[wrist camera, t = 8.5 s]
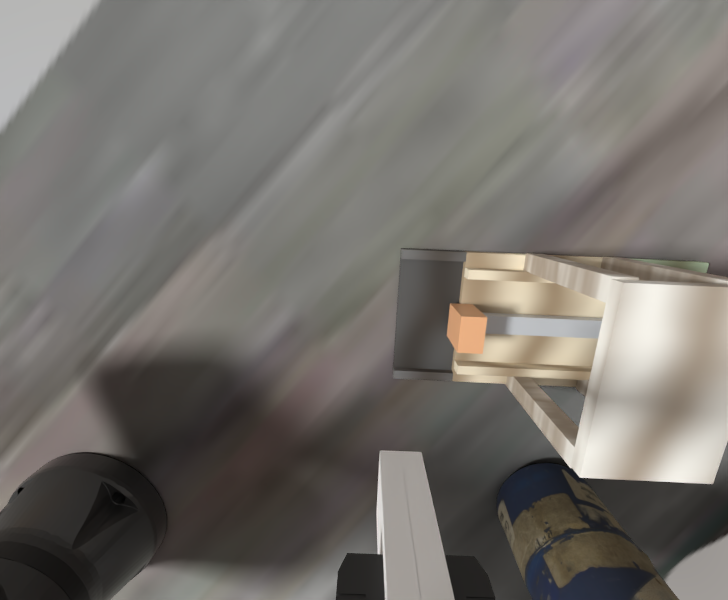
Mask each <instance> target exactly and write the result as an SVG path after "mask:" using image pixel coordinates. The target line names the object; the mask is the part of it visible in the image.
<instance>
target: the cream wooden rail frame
mask: <svg viewBox="0 0 728 600" xmlns="http://www.w3.org/2000/svg"><path fill="white" fill-rule="evenodd" d="M708 266H709V263H705V262H699V261H677V260H654V259H632V258H621V257H586V256H564V255H546V254H532V253H526V254H518V253H496V252H473V251H450V250H428V249H405V248H401V258H400V273H399V288H398V303H397V318H396V333H395V347H394V362H393V378H394V379H416V380H437V381H459V382H480V383H502V384H506V386H507V387H508V389H509V390H510V391H511V393H512V394H513V395H514V396H515V398H516V399H517V400H518V402H519V403H520V404H521V405H522V407H523V408H524V409H525V411H526V412H527V413H528V414H529V416H530V417H531V418H532V420H533V421H534V422H535V423H536V425H537V426H538V427H539V429H540V430H541V431H542V432H543V434H544V435H545V436H546V438H547V439H548V440H549V441H550V443H551V444H552V445H553V447H554V448H555V449H556V450H557V452H558V453H559V454H560V456H561V457H562V458H563V459H564V461H565V462H566V463H567V465H568V466H569V467H570V468H573V470H574V471H575V472H576V474H577V475H578V476H579V477H580V478H597V479H618V480H639V481H659V482H680V483H701V484H713V483H714V480H715V477H716V474H717V471H718V468H719V465H720V462H721V459H722V456H723V453H724V450H725V447H726V444H727V441H728V277H724V276H718V275H713V274H708V273H707V269H708ZM450 303H454V304H473V305H474V306H475V307H476V308H477V309H479V310H480V311H481V312H483V313H505V314H527V315H550V316H572V317H594V318H603V319H602V323H601V328H600V333H599V337H598V339H596V338H574V337H552V336H530V335H508V334H486V333H485V340H484V347H483V354H472V353H457V352H456V350H455V348H454V347H453V345H452V343H451V342H450V340H449V338H448V337H447V328H448V318H449V309H450ZM538 385H544V386H566V387H576V389H577V390H578V391H579V392H580V393H581V394H583V395H584V396H585V402H584V407H583V411H582V416H581V421H580V425H579V428H578V426H577V425H576V424H575V423H574V422H573V421H572V420H571V419H570V418H569V417H568V416H567V415H566V414H565V413H564V412H563V411H562V410H561V409H560V408H559V407H558V406H557V405H556V404H555V403H554V401H553V400H552V399H551V398H550V397H549V396H548V395H547V394H546V393H545V392H544V391H543V390H542V389H541V388H540V387H539V386H538Z"/></svg>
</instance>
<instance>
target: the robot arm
mask: <svg viewBox="0 0 728 600" xmlns="http://www.w3.org/2000/svg"><path fill="white" fill-rule="evenodd" d="M376 514H377V546H378V554H355V553H347V555H346V557H345V559H344V561H343V563H342V565H341V567H340V569H339V571H338V580H337V592H336V600H495V596H494V593H493V590H492V587H491V584H490V581H489V578H488V575H487V574H486V572H485V571H484V569H483V568H482V567H481V565H480V564H479V563H478V561H477V560H476V558H475V557H474V556H445V554H444V550H443V546H442V541H441V537H440V532H439V528H438V523H437V519H436V514H435V510H434V506H433V501H432V497H431V492H430V488H429V483H428V479H427V475H426V470H425V466H424V461H423V457H422V452H411V451H383V450H380V454H379V474H378V493H377V513H376ZM166 526H167V518H166V512H165V508H164V505H163V502H162V500H161V498H160V496H159V494H158V493H157V491H156V490H155V488H154V487H153V486H152V485H151V484H150V482H149V481H148V480H147V479H146V478H145V477H143V476H142V475H141V474H140V473H139V472H137V471H136V470H134V469H133V468H131V467H130V466H128V465H126V464H124V463H122V462H120V461H118V460H115V459H112V458H109V457H106V456H102V455H97V454H88V453H79V454H70V455H65V456H61V457H58V458H56V459H54V460H52V461H50V462H48V463H47V464H45V465H44V466H42V467H41V468H40V469H39V470H37V471H36V472H35V473H33V474H32V475H31V476H30V477H28V478H27V479H26V480H25V481H24V482H23V483H22V484H21V485H20V486H19V487H18V488H17V489H16V491H15V492H14V493H13V495H12V496H11V498H10V500H9V502H8V504H7V505H6V506H5V507H4V509H3V510H2V511H1V512H0V600H110V599H111V598H112V597H113V596H114V595H115V594H117V593H118V592H119V591H120V590H121V589H122V588H123V587H124V586H125V585H126V584H127V583H128V582H129V581H130V580H131V579H133V578H134V577H135V576H136V575H138V574H139V573H140V572H141V571H142V570H143V569H144V568H145V567H146V565H147V564H148V563H149V562H150V560H151V559H152V557H153V555H154V554H155V552H156V551H157V549H158V548H159V546H160V544H161V543H162V541H163V538H164V536H165V532H166Z"/></svg>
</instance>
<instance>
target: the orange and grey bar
mask: <svg viewBox="0 0 728 600" xmlns="http://www.w3.org/2000/svg"><path fill="white" fill-rule="evenodd" d="M602 319H603V318H594V317H572V316H550V315H527V314H505V313H483V312H481V311H480V310H479V309H477V308H476V307H475V306H474V305H473V304H454V303H450V309H449V318H448V328H447V337H448V338H449V340H450V342H451V343H452V345H453V347H454V348H455V350H456V352H457V353H472V354H483V347H484V340H485V333H486V334H508V335H530V336H552V337H574V338H596V339H598V337H599V333H600V328H601V323H602Z"/></svg>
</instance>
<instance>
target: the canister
mask: <svg viewBox="0 0 728 600" xmlns="http://www.w3.org/2000/svg"><path fill="white" fill-rule="evenodd" d="M497 512H498V517H499V520H500V522H501V525H502V527H503V530H504V532H505V534H506V537H507V539H508V542H509V544H510V547H511V549H512V552H513V555H514V557H515V559H516V562H517V564H518V567H519V569H520V572H521V575H522V578H523V580H524V582H525V584H526V587H527V589H528V591H529V593H530V595H531V598H532V600H679V599H678V598H677V597H676V595H675V594H674V593H673V592H672V591H671V589H670V588H669V587H668V585H667V584H666V583H665V581H664V580H663V579H662V577H661V576H660V575H659V574H658V572H657V571H656V569H655V568H654V566H653V565H652V563H651V561H650V559H649V558H648V556H647V555H646V554H645V553H644V552H643V551H642V550H641V549H640V548H638V547H637V546H636V545H635V544H634V543H633V541H632V540H631V538H630V537H629V536H628V535H627V533H626V532H625V531H624V529H623V528H622V527H621V526H620V524H619V523H618V522H617V521H616V519H615V518H614V517H613V515H612V514H611V513H610V512H609V510H608V509H607V508H606V507H605V505H604V504H603V503H602V501H601V500H600V499H599V498H598V496H597V495H596V494H595V492H594V491H593V490H592V489H591V488H590V486H589V485H588V484H587V483H586V481H585V480H584V479H583V478H580V477H579V476H578V475H577V474H576V472H574V471H573V470H571V469H569V468H567V467H565V466H561V465H558V464H552V463H539V464H533V465H530V466H527V467H524V468H522V469H520V470H518V471H516V472H515V473H514V474H512V475H511V476H510V477H509V478H508V479H507V480H506V481H505V482H504V484H503V485H502V487H501V489H500V491H499V493H498V497H497Z"/></svg>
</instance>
